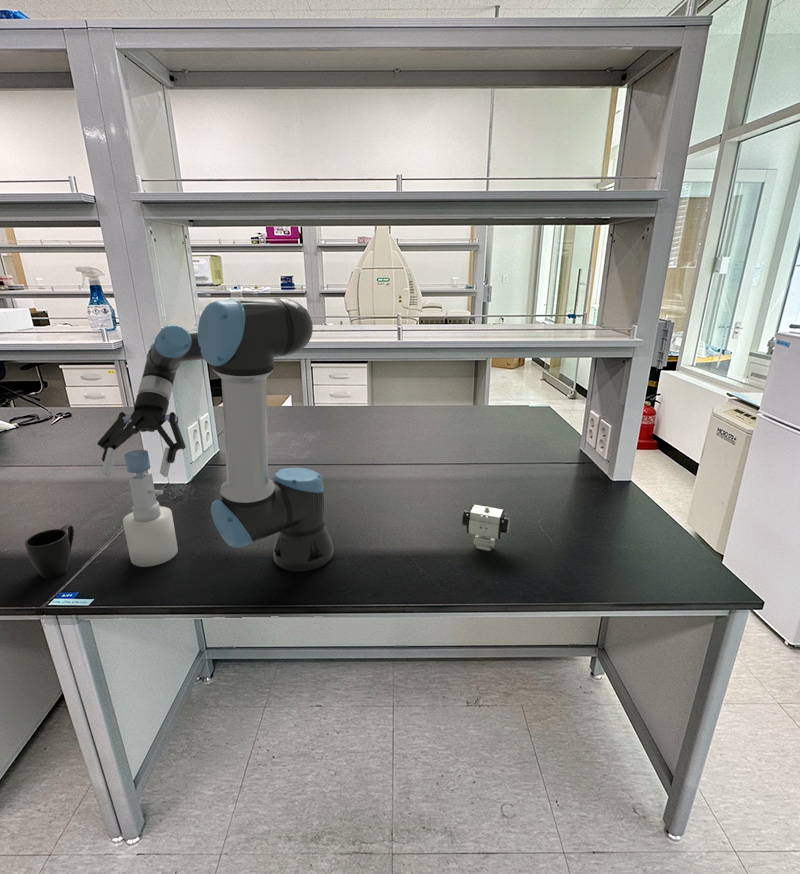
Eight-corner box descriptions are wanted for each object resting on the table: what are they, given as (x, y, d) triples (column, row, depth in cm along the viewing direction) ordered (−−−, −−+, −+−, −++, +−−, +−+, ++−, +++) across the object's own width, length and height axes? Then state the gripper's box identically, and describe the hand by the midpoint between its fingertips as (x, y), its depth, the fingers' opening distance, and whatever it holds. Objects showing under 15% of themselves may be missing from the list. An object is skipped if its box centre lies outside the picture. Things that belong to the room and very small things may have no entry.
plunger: (160, 498, 123) (152, 450, 118) (147, 507, 118) (138, 457, 114) (142, 497, 123) (133, 449, 119) (129, 506, 119) (119, 456, 114)
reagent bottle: (186, 545, 130) (174, 468, 123) (161, 568, 120) (146, 487, 112) (148, 541, 131) (134, 466, 124) (120, 564, 121) (103, 483, 114)
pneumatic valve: (464, 538, 134) (467, 499, 130) (507, 547, 130) (511, 507, 126) (459, 548, 129) (461, 508, 125) (504, 558, 125) (507, 516, 121)
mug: (93, 555, 125) (86, 522, 122) (58, 583, 114) (49, 547, 111) (63, 553, 126) (55, 520, 123) (25, 581, 114) (15, 545, 111)
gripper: (207, 405, 129) (193, 480, 119) (112, 405, 128) (90, 480, 119) (197, 390, 122) (181, 468, 113) (96, 390, 121) (72, 469, 112)
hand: (134, 475), depth 116 cm, fingers open, 13 cm apart
